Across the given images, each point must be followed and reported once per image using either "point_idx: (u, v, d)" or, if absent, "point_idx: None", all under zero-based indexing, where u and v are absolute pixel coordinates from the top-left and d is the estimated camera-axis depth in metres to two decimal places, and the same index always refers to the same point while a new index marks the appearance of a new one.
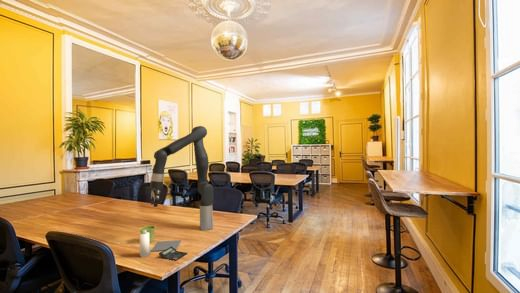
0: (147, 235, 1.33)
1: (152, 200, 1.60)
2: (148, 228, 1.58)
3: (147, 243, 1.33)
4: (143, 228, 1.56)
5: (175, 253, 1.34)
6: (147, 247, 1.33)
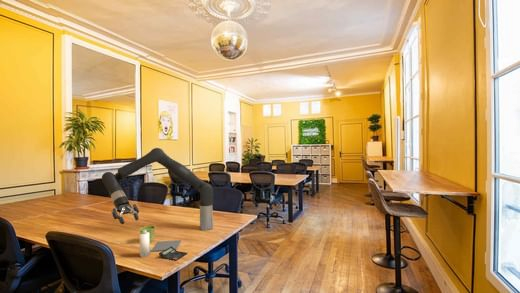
0: (147, 235, 1.33)
1: (134, 216, 1.46)
2: (148, 228, 1.58)
3: (147, 243, 1.33)
4: (143, 228, 1.56)
5: (175, 253, 1.34)
6: (147, 247, 1.33)
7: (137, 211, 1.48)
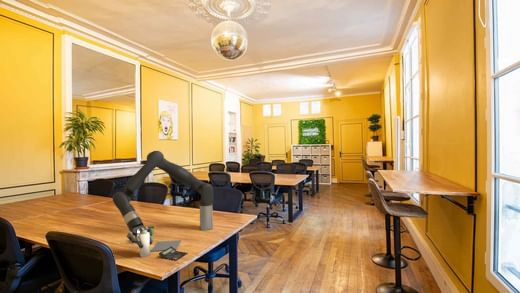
0: (147, 235, 1.33)
1: None
2: None
3: (147, 243, 1.33)
4: None
5: (175, 253, 1.34)
6: (147, 247, 1.33)
7: (150, 234, 1.38)
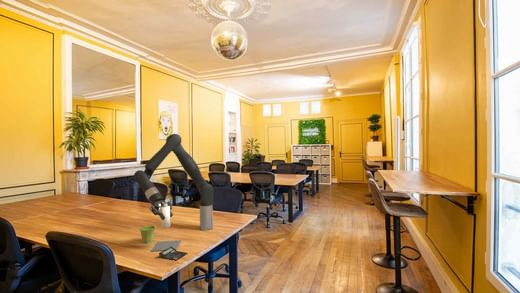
0: (168, 208, 1.44)
1: None
2: (148, 228, 1.58)
3: (168, 215, 1.44)
4: (143, 228, 1.56)
5: (175, 253, 1.34)
6: (168, 219, 1.44)
7: (170, 208, 1.50)
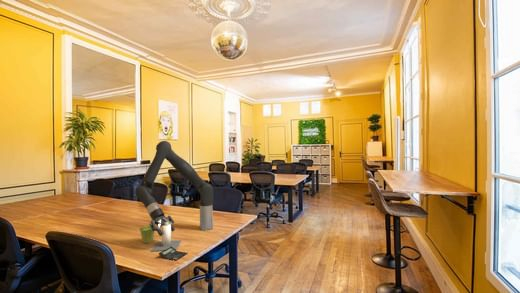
0: (169, 226, 1.45)
1: None
2: (148, 228, 1.58)
3: (169, 234, 1.45)
4: (143, 228, 1.56)
5: (175, 253, 1.34)
6: (169, 237, 1.45)
7: (172, 222, 1.52)
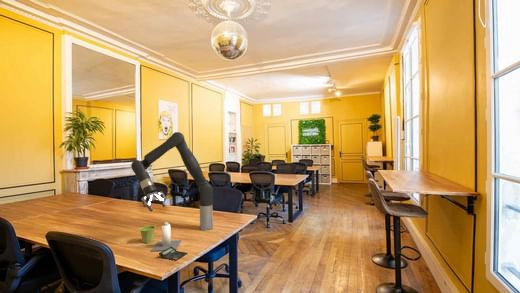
0: (168, 226, 1.45)
1: (162, 203, 1.59)
2: (148, 228, 1.58)
3: (169, 234, 1.45)
4: (143, 228, 1.56)
5: (175, 253, 1.34)
6: (169, 237, 1.45)
7: (164, 198, 1.60)
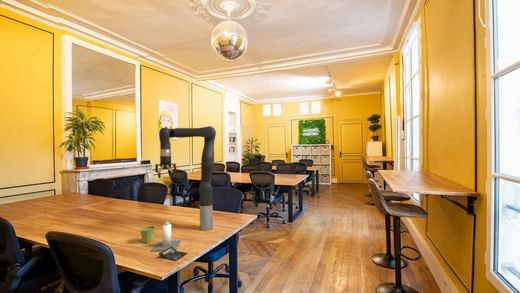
0: (169, 226, 1.45)
1: None
2: (148, 228, 1.58)
3: (169, 234, 1.45)
4: (143, 228, 1.56)
5: (175, 253, 1.34)
6: (169, 237, 1.45)
7: (174, 171, 1.74)
